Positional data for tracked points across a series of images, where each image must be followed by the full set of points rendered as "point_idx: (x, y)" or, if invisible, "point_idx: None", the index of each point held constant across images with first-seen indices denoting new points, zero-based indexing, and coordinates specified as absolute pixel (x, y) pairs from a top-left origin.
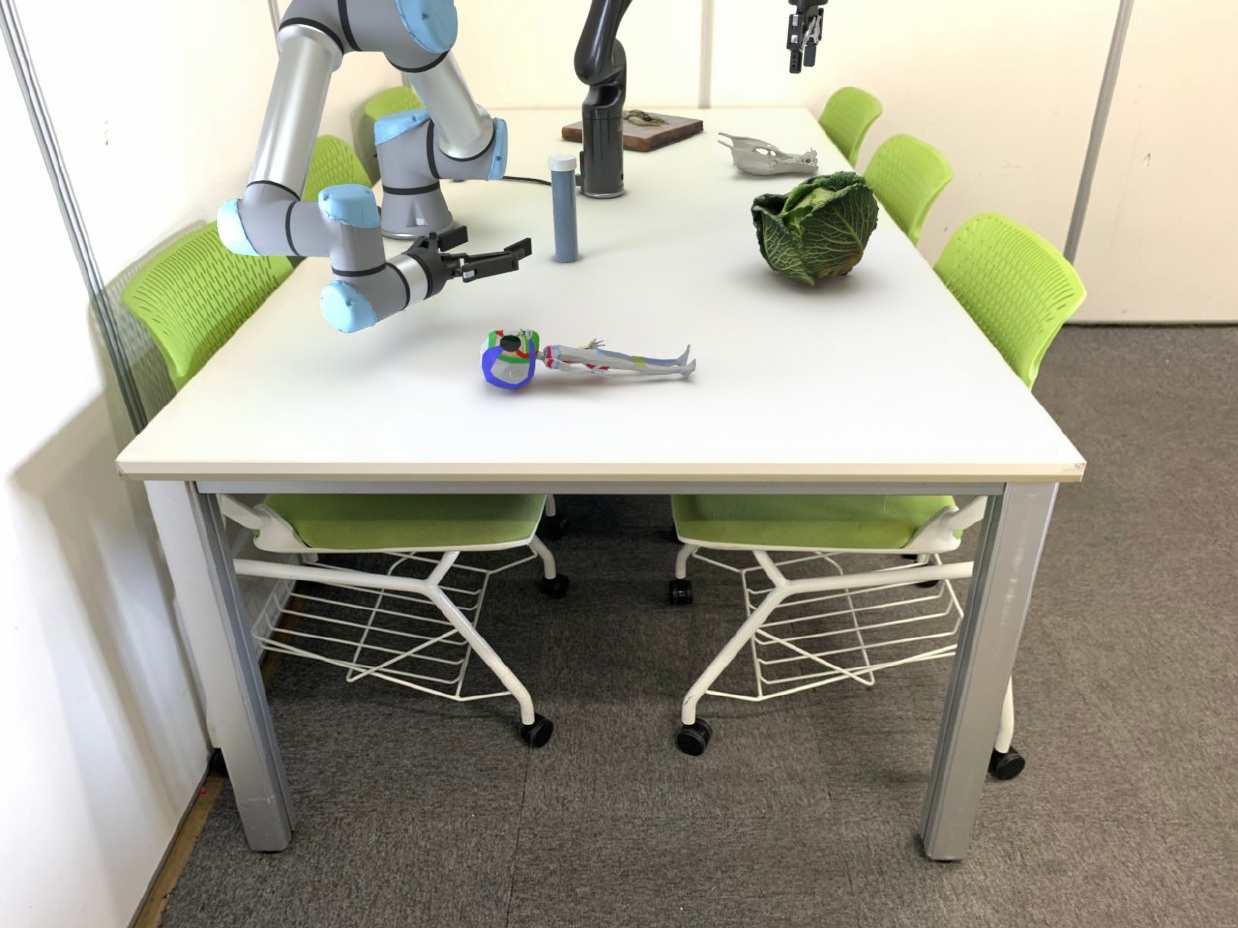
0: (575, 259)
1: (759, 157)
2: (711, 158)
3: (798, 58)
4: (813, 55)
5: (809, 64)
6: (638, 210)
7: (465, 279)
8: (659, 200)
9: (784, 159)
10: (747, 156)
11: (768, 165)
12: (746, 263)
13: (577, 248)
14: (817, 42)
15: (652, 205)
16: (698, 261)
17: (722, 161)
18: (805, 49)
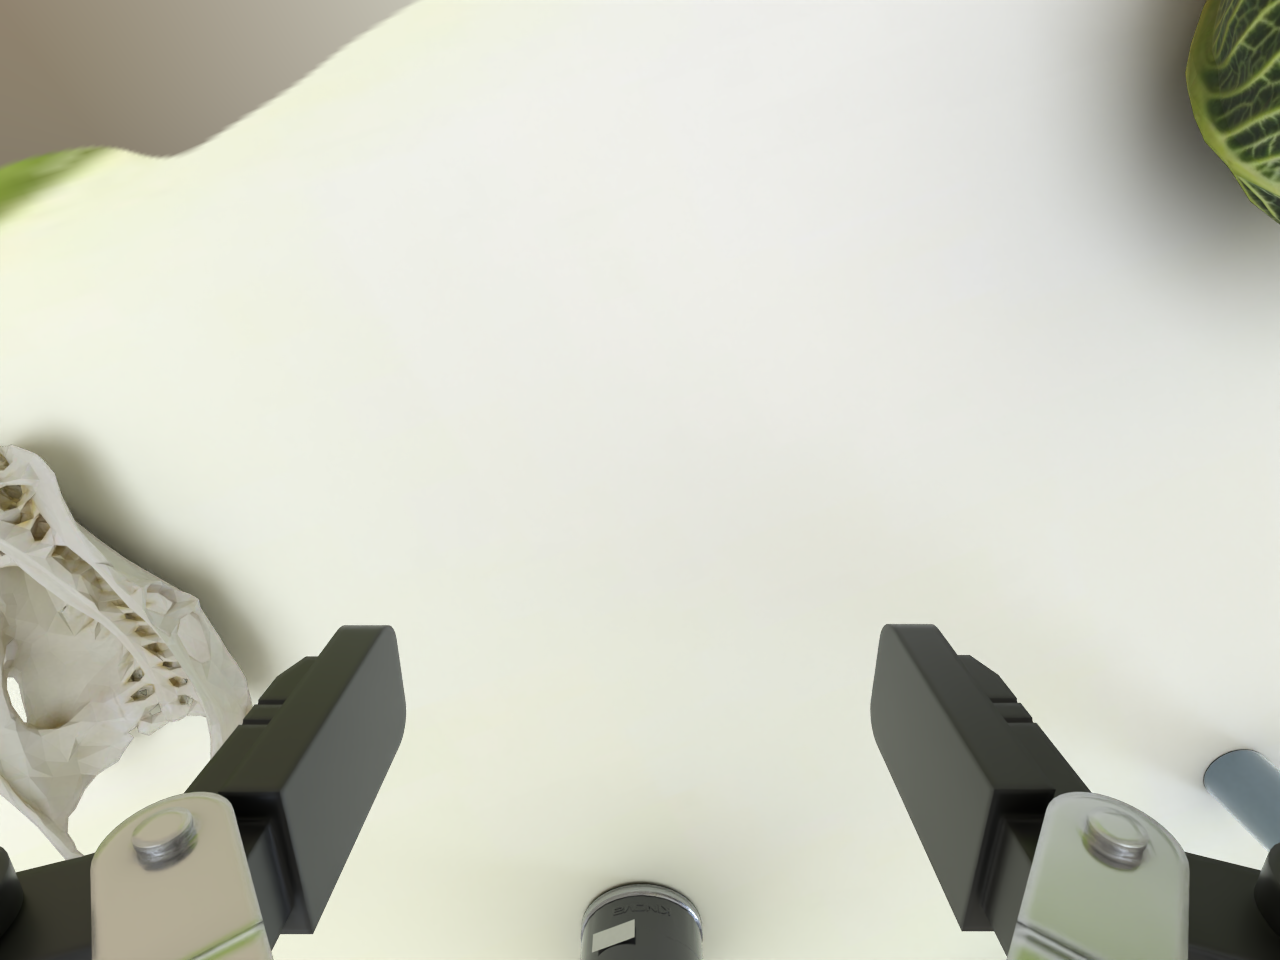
0: (1254, 752)
1: (187, 661)
2: (85, 830)
3: (1053, 759)
4: (341, 717)
5: (388, 679)
6: (757, 793)
7: None
8: (634, 784)
9: (14, 598)
10: (215, 702)
11: (185, 612)
12: (1182, 319)
13: (1263, 773)
14: (178, 841)
15: (692, 781)
16: (1191, 465)
17: (94, 790)
18: (327, 882)
